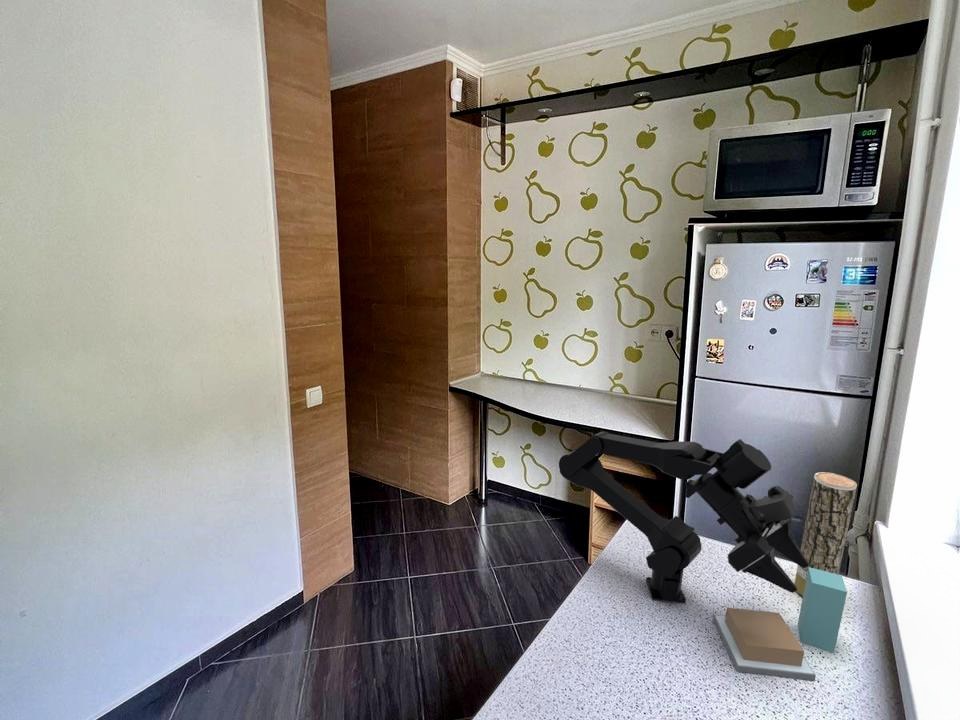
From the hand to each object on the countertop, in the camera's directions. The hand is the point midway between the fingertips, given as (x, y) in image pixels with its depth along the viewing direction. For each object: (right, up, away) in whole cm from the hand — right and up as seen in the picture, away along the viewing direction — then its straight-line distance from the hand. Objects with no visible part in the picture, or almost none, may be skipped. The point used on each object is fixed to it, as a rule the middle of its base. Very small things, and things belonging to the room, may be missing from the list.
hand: (801, 578), depth 85 cm
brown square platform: (-5, -14, +3) cm, 15 cm away
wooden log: (+14, -11, +18) cm, 25 cm away
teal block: (+6, -13, +6) cm, 16 cm away
